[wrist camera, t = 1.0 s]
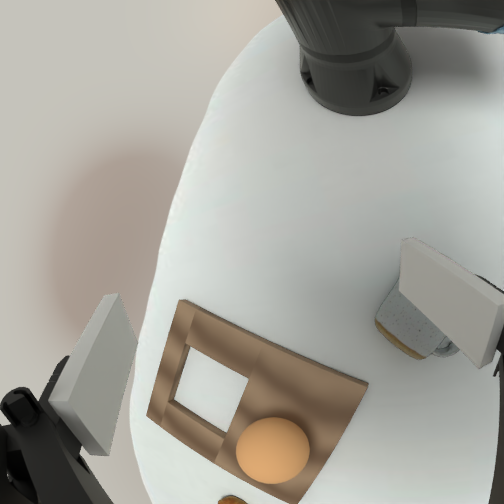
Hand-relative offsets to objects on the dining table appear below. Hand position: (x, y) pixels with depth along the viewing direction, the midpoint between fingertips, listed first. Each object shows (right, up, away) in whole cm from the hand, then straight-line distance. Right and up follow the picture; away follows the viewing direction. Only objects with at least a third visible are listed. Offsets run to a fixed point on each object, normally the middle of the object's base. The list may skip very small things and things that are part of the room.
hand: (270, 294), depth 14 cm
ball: (+1, -20, +16) cm, 25 cm away
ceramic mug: (+18, -5, +16) cm, 25 cm away
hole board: (-2, -18, +24) cm, 30 cm away
